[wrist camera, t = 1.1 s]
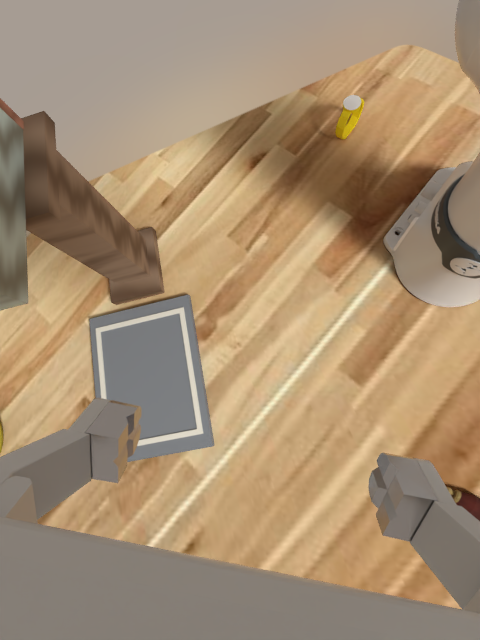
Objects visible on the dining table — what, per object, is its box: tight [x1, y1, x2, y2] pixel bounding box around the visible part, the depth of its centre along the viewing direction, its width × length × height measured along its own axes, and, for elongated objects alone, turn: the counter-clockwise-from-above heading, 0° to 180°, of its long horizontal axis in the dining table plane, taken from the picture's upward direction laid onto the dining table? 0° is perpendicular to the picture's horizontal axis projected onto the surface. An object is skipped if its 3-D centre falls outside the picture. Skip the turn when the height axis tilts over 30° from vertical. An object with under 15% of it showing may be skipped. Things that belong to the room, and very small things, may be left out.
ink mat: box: [90, 295, 214, 462], centre depth 52 cm, size 24×18×1 cm
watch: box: [335, 95, 364, 139], centre depth 53 cm, size 6×3×6 cm, turn 142°
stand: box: [21, 111, 164, 305], centre depth 44 cm, size 12×9×26 cm
